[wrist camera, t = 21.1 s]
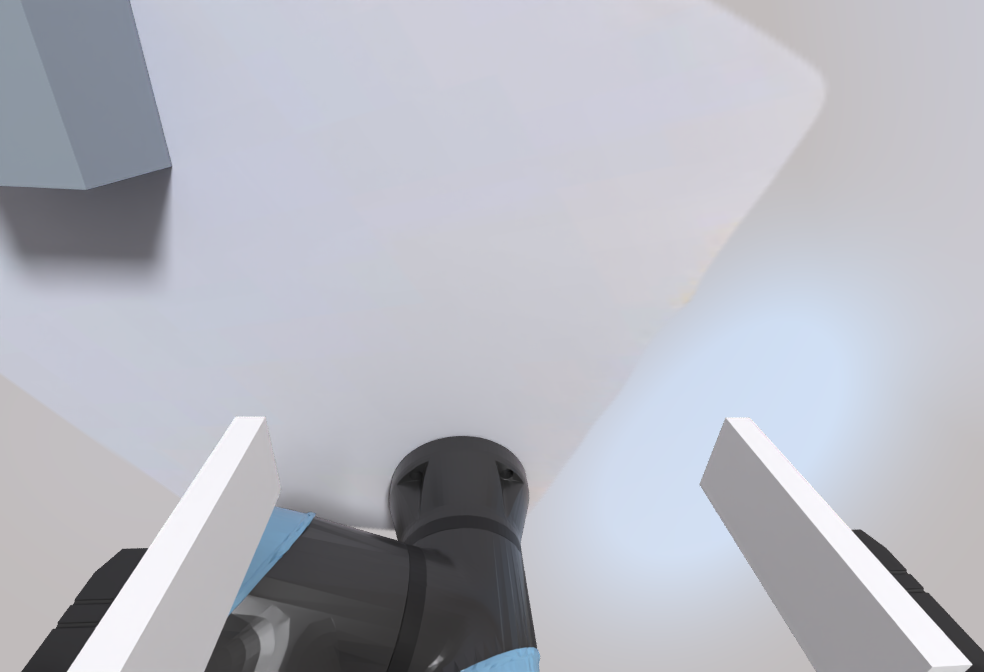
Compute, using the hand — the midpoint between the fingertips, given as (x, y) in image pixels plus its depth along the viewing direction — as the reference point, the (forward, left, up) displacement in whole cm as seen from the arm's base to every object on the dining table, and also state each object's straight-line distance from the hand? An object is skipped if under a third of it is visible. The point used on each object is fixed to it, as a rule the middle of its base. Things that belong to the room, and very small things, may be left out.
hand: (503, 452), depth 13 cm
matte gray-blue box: (+8, +27, -27) cm, 39 cm away
